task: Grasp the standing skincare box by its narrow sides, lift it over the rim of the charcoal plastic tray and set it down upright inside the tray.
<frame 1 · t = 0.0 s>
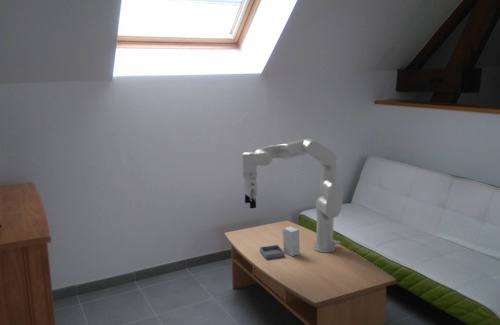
hand: (250, 205, 229), 31 cm above the table, tool pointing down, fingers open, 9 cm apart
tray: (272, 254, 241), on the table
skincare box: (291, 253, 242), on the table
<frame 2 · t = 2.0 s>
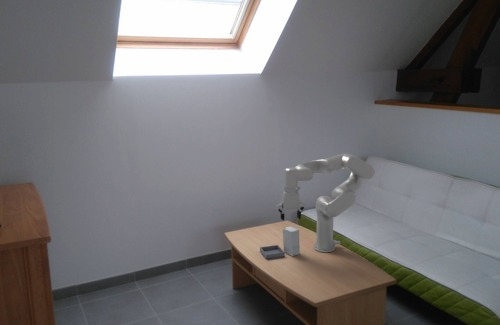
hand: (290, 219, 238), 21 cm above the table, tool pointing down, fingers open, 9 cm apart
nothing on the table moved.
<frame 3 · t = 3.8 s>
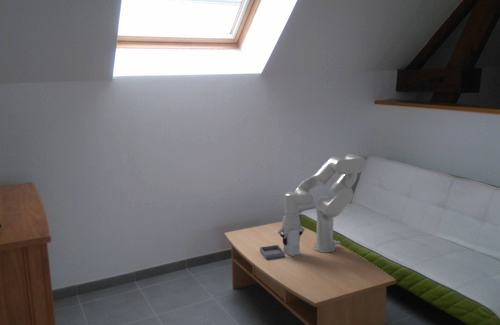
hand: (291, 243, 241), 6 cm above the table, tool pointing down, fingers closed on skincare box, 7 cm apart
skincare box: (291, 253, 242), on the table, touching gripper
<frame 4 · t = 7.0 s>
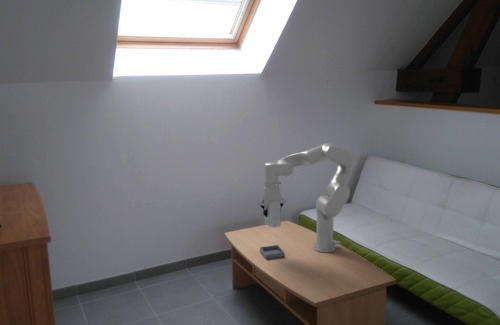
hand: (271, 215, 236), 24 cm above the table, tool pointing down, fingers closed on skincare box, 7 cm apart
skincare box: (272, 225, 237), point 17 cm above the table, touching gripper
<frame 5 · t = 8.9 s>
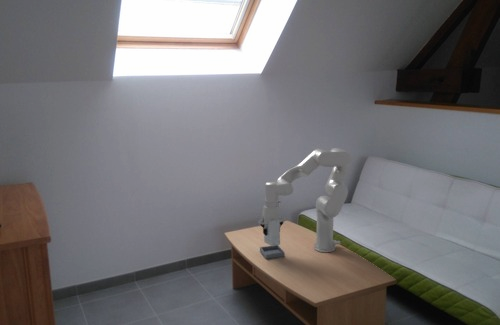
hand: (271, 233, 238), 12 cm above the table, tool pointing down, fingers closed on skincare box, 7 cm apart
skincare box: (271, 243, 240), point 6 cm above the table, touching gripper
when the fingers open (7 cm above the table, at t = 10.5 s): skincare box stays where it is, resting on tray.
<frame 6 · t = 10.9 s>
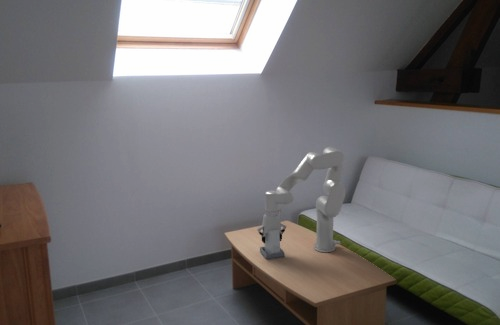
hand: (271, 241, 239), 8 cm above the table, tool pointing down, fingers open, 9 cm apart
skincare box: (272, 253, 241), resting on tray
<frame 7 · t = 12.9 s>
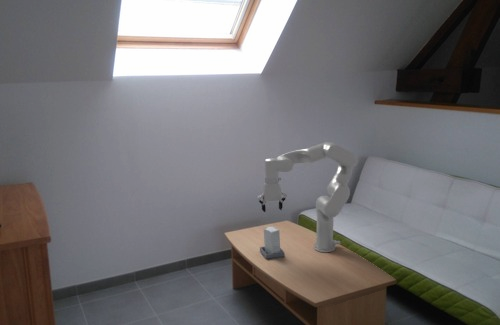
hand: (272, 210, 236), 26 cm above the table, tool pointing down, fingers open, 9 cm apart
nothing on the table moved.
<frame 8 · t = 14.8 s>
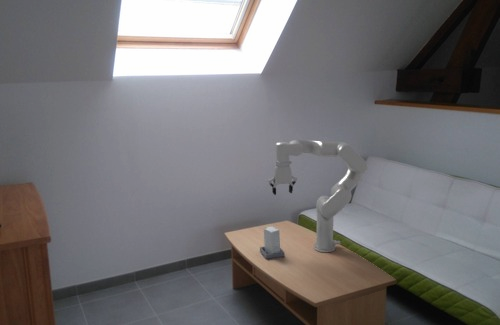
hand: (282, 193, 240), 34 cm above the table, tool pointing down, fingers open, 9 cm apart
nothing on the table moved.
at the end: skincare box 0.1 cm off-centre on the tray, point 0.3 cm above the tray's base; skincare box tilted 0°; the gripper is holding nothing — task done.
